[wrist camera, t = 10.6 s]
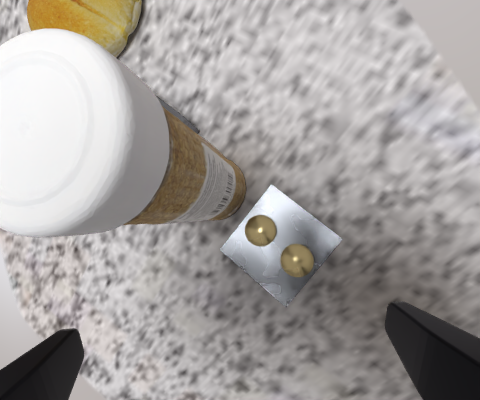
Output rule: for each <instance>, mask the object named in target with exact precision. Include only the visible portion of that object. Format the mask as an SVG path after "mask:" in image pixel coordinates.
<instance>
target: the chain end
mask: <svg viewBox="0 0 480 400" xmlns="http://www.w3.org/2000/svg"><path fill="white" fill-rule="evenodd" d="M342 240H343V239H342V238H341V237H340V236H338V235H337V234H336V233H334V232H333V231H332V230H330V229H329V228H328V227H327V226H325V225H324V224H323V223H321V222H320V221H319V220H317V219H316V218H315V217H313V216H312V215H311V214H310V213H308V212H307V211H306V210H304V209H303V208H302V207H300V206H299V205H298V204H297V203H295V202H294V201H293V200H291V199H290V198H289V197H287V196H286V195H285V194H283V193H282V192H281V191H280V190H278V189H277V188H276V187H274V186H273V185H272V184H271V185H270V187H269V188H268V189H267V191H266V192H265V193H264V194H263V196H262V197H261V198H260V199H259V201H258V202H257V203H256V204H255V206H254V207H253V208H252V210H251V211H250V212H249V213H248V215H247V216H246V217H245V218H244V220H243V221H242V222H241V223H240V225H239V226H238V227H237V229H236V230H235V231H234V232H233V234H232V235H231V236H230V237H229V239H228V240H227V241H226V242H225V244H224V245H223V246H222V248H221V249H220V250H221V251H222V252H223V253H224V254H225V255H226V256H228V257H229V258H230V259H231V260H232V261H233V262H234V263H236V264H237V265H238V266H239V267H240V268H241V269H242V270H244V271H245V272H246V273H247V274H248V275H249V276H250V277H252V278H253V279H254V280H255V281H256V282H257V283H258V284H260V285H261V286H262V287H263V288H264V289H265V290H266V291H268V292H269V293H270V294H271V295H272V296H273V297H274V298H276V299H277V300H278V301H279V302H280V303H281V304H282V305H284V306H285V307H287V306H288V304H289V303H290V302H291V301H292V300H293V298H294V297H295V296H296V295H297V294H298V292H299V291H300V290H301V289H302V288H303V286H304V285H305V284H306V283H307V282H308V280H309V279H310V278H311V277H312V276H313V274H314V273H315V272H316V271H317V270H318V268H319V267H320V266H321V265H322V264H323V262H324V261H325V260H326V259H327V258H328V256H329V255H330V254H331V253H332V252H333V250H334V249H335V248H336V247H337V246H338V244H339V243H340V242H341V241H342Z"/></svg>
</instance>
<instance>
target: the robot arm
mask: <svg viewBox="0 0 480 400" xmlns="http://www.w3.org/2000/svg"><path fill="white" fill-rule="evenodd" d="M385 329H386V332H387V335H388V337H389V338H390V340H391V342H392V344H393V346H394V348H395V350H396V352H397V354H398V355H399V357H400V359H401V361H402V363H403V365H404V367H405V369H406V371H407V372H408V374H409V376H410V378H411V380H412V382H413V383H414V385H415V387H416V389H417V390H418V392H419V394H420V395H421V397H422V398H423V400H480V338H478V337H476V336H474V335H472V334H470V333H467V332H465V331H463V330H461V329H459V328H457V327H455V326H453V325H451V324H449V323H447V322H445V321H443V320H441V319H439V318H437V317H435V316H433V315H431V314H429V313H427V312H425V311H422V310H420V309H418V308H416V307H414V306H412V305H410V304H408V303H406V302H403V301H400V302H391V303H389V304H388V307H387V314H386V320H385ZM83 359H84V349H83V345H82V341H81V338H80V334H79V331H78V330H77V329H75V328H72V329H62V330H59V331H57V332H56V333H54V334H53V335H52V336H50V337H49V338H47V339H46V340H44V341H43V342H41V343H40V344H38V345H37V346H35V347H34V348H32V349H31V350H30V351H28V352H26V353H25V354H23V355H22V356H20V357H19V358H18V359H16V360H15V361H13V362H12V363H10V364H9V365H7V366H6V367H4V368H3V369H1V370H0V400H68V399H69V396H70V394H71V391H72V388H73V386H74V383H75V381H76V378H77V375H78V373H79V370H80V367H81V365H82V362H83Z"/></svg>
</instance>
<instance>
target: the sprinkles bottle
mask: <svg viewBox="0 0 480 400" xmlns="http://www.w3.org/2000/svg"><path fill="white" fill-rule="evenodd" d="M245 192H246V185H245V178H244V176H243V174H242V172H241V170H240V168H239V167H238V166H237V165H236V164H234V163H233V162H232V161H231V160H227V159H226V158H225V157H224V156H223V154H222V153H221V152H220V151H219V150H218V149H216V148H215V147H214V146H213V145H212V144H211V143H209V142H208V141H207V140H206V139H204V138H203V137H201V136H199V135H198V134H197V133H195V132H194V131H193V130H192V129H190V128H189V127H188V126H187V125H185V124H184V123H183V122H182V121H181V120H179V119H178V118H177V117H176V116H174V115H173V114H172V113H170V112H169V111H167V110H166V109H165V108H164V107H163V106H162V105H161V103H160V102H159V100H158V98H157V97H156V96H155V94H154V93H153V91H152V90H151V89H150V88H149V86H148V85H147V84H146V83H145V82H144V81H142V80H141V79H140V78H139V77H138V76H137V75H136V74H135V73H133V72H132V71H131V70H130V69H129V68H128V67H127V66H125V65H124V64H123V63H122V62H120V61H119V60H118V59H117V58H115V57H114V56H113V55H112V54H110V53H109V52H108V51H107V50H105V49H104V48H103V47H102V46H100V45H99V44H97V43H96V42H94V41H93V40H91V39H89V38H87V37H85V36H83V35H80V34H78V33H75V32H71V31H68V30H63V29H39V30H34V31H30V32H26V33H23V34H21V35H18V36H16V37H14V38H12V39H10V40H8V41H7V42H5V43H4V44H2V45H1V46H0V228H1V229H3V230H5V231H8V232H10V233H13V234H16V235H21V236H27V237H38V238H39V237H56V236H73V235H84V234H93V233H101V232H105V231H109V230H112V229H115V228H117V227H119V226H122V225H128V224H168V223H182V222H194V221H204V220H222V219H225V218H227V217H229V216H231V215H232V214H234V213H235V212H236V211H237V209H239V207H240V205H241V204H242V202H243V200H244V197H245Z"/></svg>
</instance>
